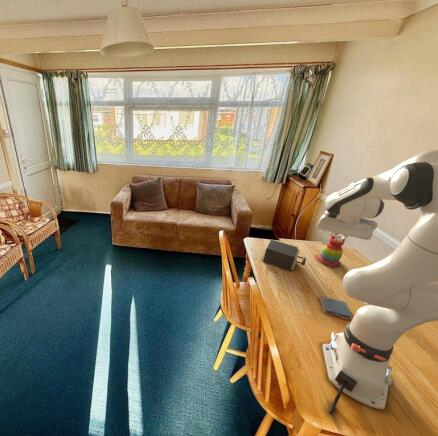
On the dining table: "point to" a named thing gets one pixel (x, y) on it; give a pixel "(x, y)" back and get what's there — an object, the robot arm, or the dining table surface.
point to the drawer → (297, 261)
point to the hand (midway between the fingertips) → (338, 241)
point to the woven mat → (335, 307)
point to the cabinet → (280, 254)
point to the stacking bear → (331, 252)
